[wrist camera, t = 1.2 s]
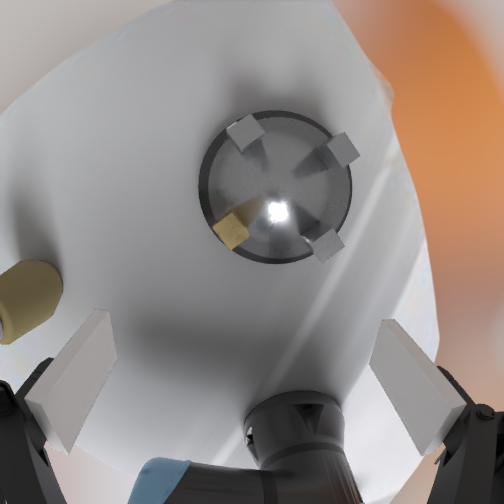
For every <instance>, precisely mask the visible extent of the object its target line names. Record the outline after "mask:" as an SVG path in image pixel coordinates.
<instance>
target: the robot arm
mask: <svg viewBox="0 0 504 504" xmlns="http://www.w3.org/2000/svg"><path fill="white" fill-rule="evenodd" d="M117 359H118V355H117V350H116V345H115V340H114V335H113V329H112V324H111V318H110V311H104V310H95V311H94V312H93V313H92V314H91V315H90V317H89V318H88V319H87V320H86V321H85V322H84V324H83V325H82V326H81V327H80V328H79V329H78V331H77V332H76V333H75V334H74V335H73V337H72V338H71V339H70V340H69V341H68V343H67V344H66V345H65V346H64V347H63V349H62V350H61V351H60V352H59V354H58V355H57V356H56V357H55V359H54V358H50V357H49V358H47V359H46V360H44V361H43V362H41V363H40V364H39V365H38V366H37V367H36V369H35V370H34V372H32V374H31V375H30V376H29V378H28V379H27V380H26V381H25V382H24V384H23V385H22V386H21V387H20V389H19V390H18V391H17V393H16V394H15V395H14V393H13V391H12V389H11V387H10V385H9V384H8V383H7V382H6V381H2V380H0V504H6V502H7V504H67V503H66V501H65V498H64V496H63V494H62V492H61V490H60V487H59V484H58V482H57V480H56V477H55V475H54V472H53V469H52V467H51V463H50V461H49V458H48V455H47V452H46V450H45V448H44V444H45V442H46V440H47V441H48V443H49V444H50V446H51V447H52V449H54V450H57V451H59V452H62V453H65V454H68V455H69V453H70V451H71V449H72V447H73V445H74V443H75V441H76V438H77V436H78V434H79V432H80V430H81V428H82V426H83V424H84V422H85V420H86V418H87V416H88V414H89V412H90V410H91V408H92V406H93V404H94V402H95V400H96V398H97V396H98V394H99V392H100V390H101V389H102V387H103V385H104V383H105V381H106V379H107V377H108V375H109V373H110V372H111V370H112V368H113V366H114V364H115V362H116V361H117ZM369 365H370V367H371V368H372V370H373V372H374V373H375V375H376V377H377V379H378V380H379V382H380V384H381V385H382V387H383V389H384V391H385V392H386V394H387V396H388V397H389V399H390V401H391V403H392V404H393V406H394V408H395V410H396V411H397V413H398V415H399V417H400V418H401V420H402V422H403V424H404V426H405V427H406V429H407V431H408V433H409V435H410V436H411V438H412V440H413V442H414V444H415V446H416V447H417V449H418V451H419V453H420V455H421V456H424V455H427V454H430V453H433V452H436V451H437V449H438V448H439V447H440V445H441V444H442V442H443V443H444V445H445V446H446V448H445V449H444V451H443V452H442V453H441V455H440V456H439V457H438V459H437V460H436V462H435V463H434V464H437V463H438V462H439V461H440V464H439V467H438V471H437V474H436V477H435V481H434V484H433V487H432V490H431V493H430V496H429V499H428V502H427V504H504V412H495V411H494V409H492V408H491V407H490V406H488V405H485V404H475V403H474V402H473V400H471V398H470V397H469V396H468V394H467V393H466V392H465V391H464V390H463V388H462V387H461V386H459V384H458V382H457V381H456V380H454V378H453V377H452V375H451V374H450V373H449V372H448V371H447V370H445V369H444V368H442V367H440V366H435V364H434V363H433V362H432V361H431V360H430V359H429V357H428V356H427V355H426V354H425V353H424V352H423V351H422V349H421V348H420V347H419V346H418V345H417V344H416V343H415V341H414V340H413V339H412V338H411V337H410V336H409V335H408V333H407V332H406V331H405V330H404V329H403V328H402V327H401V326H400V325H399V323H398V322H397V321H396V320H395V319H387V320H382V321H381V325H380V328H379V332H378V336H377V339H376V343H375V346H374V350H373V353H372V356H371V360H370V363H369ZM344 425H345V423H344V417H343V414H342V412H341V410H340V407H339V405H338V404H337V403H336V401H335V400H333V399H332V398H331V397H329V396H327V395H325V394H322V393H319V392H313V391H295V392H289V393H284V394H281V395H278V396H275V397H272V398H270V399H268V400H266V401H264V402H263V403H261V404H260V405H258V406H257V407H256V408H255V409H254V410H253V411H252V412H251V413H250V414H249V415H248V417H247V419H246V421H245V425H244V438H245V443H246V446H247V448H248V450H249V452H250V453H251V455H252V457H253V459H254V461H255V463H256V464H257V466H258V468H259V470H255V469H242V468H232V467H223V466H215V465H207V464H201V463H195V462H191V461H190V460H186V461H181V460H174V459H168V458H162V457H157V458H153V459H151V460H149V461H148V462H147V463H146V464H145V465H144V466H143V468H142V469H141V471H140V473H139V475H138V477H137V479H136V482H135V484H134V487H133V489H132V492H131V495H130V498H129V501H128V504H365V503H363V500H362V497H361V495H360V492H359V490H358V487H357V484H356V482H355V479H354V476H353V474H352V471H351V469H350V466H349V463H348V461H347V459H346V456H345V453H344V450H343V447H344ZM5 498H6V499H5Z"/></svg>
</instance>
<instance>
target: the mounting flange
mask: <svg viewBox="0 0 504 504" xmlns="http://www.w3.org/2000/svg"><path fill="white" fill-rule="evenodd" d="M251 115H252V116H253V117H254V118H255V120H256V121H257V120H260V119H264V118H271V117H286V118H293V119H297V120H300V121H303V122H306V123H308V124H310V125H312V126H314V127H316V128H317V129H319V130H320V131H321V132H323V133H324V134H325V135H326V136H327V137H328V138H329V139H330V138H332V137H333V136H332V135H331V134H330V133H329V132H328V131H327V130H326V129H324V128H323V127H322V126H321V125H319V124H318V123H316V122H314V121H313V120H311V119H309V118H307V117H304V116H302V115H300V114H296V113H292V112H287V111H263V112H258V113H254V114H251ZM245 117H246V116H245ZM243 118H244V117H243ZM243 118H241V119H243ZM241 119H239V120H237V121H236V122H234V123H232V124H231V125H229V126H228V127H227V128H226V129H224V130H223V131H222V132H221V133H220V134H219V135H218V136H217V138H216V139H215V140H214V141H213V143H212V144H211V146H210V147H209V149H208V151H207V153H206V155H205V157H204V160H203V163H202V165H201V170H200V174H199V185H198V188H199V199H200V204H201V208H202V211H203V214H204V217H205V219H206V221H207V223H208V225H209V227H210V228H211V229H212V231H213V232H214V234H215V235H216V236H217V237H218V238H219V240H220V241H221V242H222V243H223V244H224V242H223V241H222V240H221V238H220V237H219V236H218V235H217V233H216V232H215V231H214V230H213V228H212V227H213V225H214V223H215V221H216V218H215V216H214V214H213V211H212V208H211V205H210V200H209V192H208V182H209V174H210V170H211V166H212V163H213V161H214V158H215V156H216V154H217V152H218V151H219V149H220V148H221V146H222V145H223V144H224V142H225V141H226V140H227V139H228V137H227V133H226V130H227V129H229V128H230V127H231V126H233V125H234V124H236V123H237V122H238V121H240V120H241ZM346 167H347V171H348V175H349V182H350V193H349V201H348V205H347V209H346V212H345V215H344V217H343V219H342V221H341V223H340V225H339V226H338V228H337V229H336V231H335V232H336V233H338V231H339V230H340V228H341V227H342V225H343V223H344V221H345V219H346V217H347V214H348V211H349V208H350V204H351V198H352V178H351V171H350V168H349V164H348V165H347V166H346ZM232 251H234V252H235V253H237V254H239V255H241V256H243V257H245V258H247V259H250V260H253V261H256V262H261V263H267V264H285V263H291V262H295V261H299V260H302V259H305V258H307V257H309V256H311V255H313V253H312V252H311V251H310V252H308V253H306V254H303V255H300V256H296V257H291V258H281V259H277V258H268V257H262V256H259V255H256V254H253V253H251V252H249V251H247V250H245V249H243V248H242V247H240V246H238V245H237V246H236V247H235V248H233V249H232Z"/></svg>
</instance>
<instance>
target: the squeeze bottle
mask: <svg viewBox="0 0 504 504" xmlns="http://www.w3.org/2000/svg"><path fill="white" fill-rule="evenodd" d="M62 293H63V284H62V280H61V277H60V275H59V273H58V272H57V270H56V269H55V268H54V267H53V266H52V265H51V264H50V263H47V262H44V261H34V260H25V261H21V262H19V263H17V264H16V265H14V266H13V267H11V268H10V269H8V270H7V271H6V272H4V273H3V274H1V275H0V343H1V344H10V343H12V342H14V341H15V340H17V339H18V338H20V337H21V336H23V335H24V334H26V333H27V332H29V331H31V330H32V329H34V328H35V327H37V326H38V325H40V324H42V323H43V322H45V321H46V320H48V319H49V318H50V317H51V316H53V314H54V312H55V309H56V307H57V305H58V302H59V300H60V298H61V295H62Z"/></svg>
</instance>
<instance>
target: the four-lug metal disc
mask: <svg viewBox="0 0 504 504" xmlns="http://www.w3.org/2000/svg"><path fill="white" fill-rule="evenodd" d="M226 133H227V137H228V139H227V140H226V141H225V142H224V144H223V145H222V146H221V148H220V149H219V151H218V152H217V154H216V156H215V158H214V161H213V163H212V166H211V170H210V174H209V182H208V192H209V200H210V205H211V208H212V211H213V214H214V216H215V218H216V221H215V223H214V225H213V227H212V228H213V230H214V231H215V232H216V233H217V235H218V236H219V237H220V238H221V240H222V241H223V242H224V244H225V245H226V246H227V247H228V249H229V250H232V249H233V248H235V247H236V246H237V245H238V246H240V247H242V248H243V249H245V250H247V251H249V252H251V253H253V254H256V255H259V256H262V257H268V258H277V259H281V258H291V257H296V256H300V255H303V254H306V253H308V252H310V251H311V252H312V253H313V254H314V255H315V256H316V257H317V258H318V259H319V260H320V261H321V262H322V263H323V262H325V261H326V260H327V259H329V258H330V257H331V256H333V255H334V254H335V253H337V252H338V251H339V250H341V249H342V248H343V247H345V246H344V244H343V243H342V241H341V240H340V238H339V236H338V235H337V233H336V232H335V231H336V229H337V228H338V226H339V225H340V223H341V221H342V219H343V217H344V215H345V212H346V209H347V205H348V201H349V193H350V182H349V175H348V171H347V167H346V166H347V165H348V164H350V163H351V162H352V161H354V160H355V159H357V158H358V157H359V156H360V155H359V153H358V151H357V150H356V148H355V147H354V145H353V144H352V142H351V141H350V139H349V138H348V136H347V135H346V133H345V132H344V133H341V134H339V135H336V136H334V137H332V138H330V139H329V138H328V137H327V136H326V135H325V134H324V133H323V132H321V131H320V130H319V129H317V128H316V127H314V126H312V125H310V124H308V123H306V122H303V121H300V120H297V119H293V118H286V117H271V118H264V119H260V120H257V121H256V120H255V118H254V117H253V116H252V115H251V113H250V114H249V115H247V116H246V117H244V118H243V119H241V120H240V121H238V122H237V123H236V124H234V125H233V126H231V127H230V128H229V129H227V130H226Z"/></svg>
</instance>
